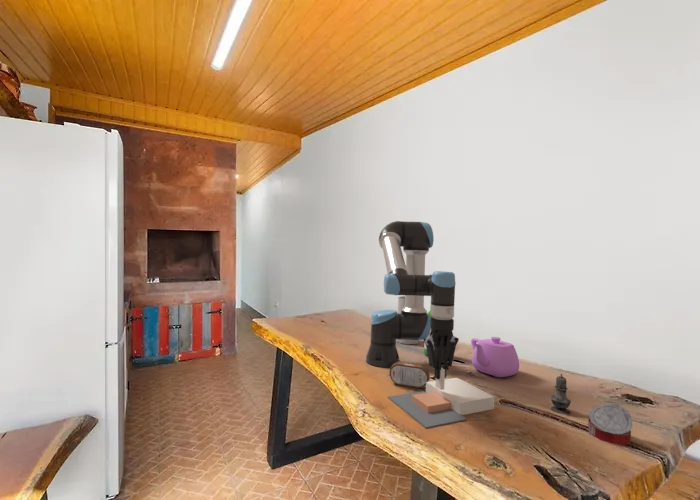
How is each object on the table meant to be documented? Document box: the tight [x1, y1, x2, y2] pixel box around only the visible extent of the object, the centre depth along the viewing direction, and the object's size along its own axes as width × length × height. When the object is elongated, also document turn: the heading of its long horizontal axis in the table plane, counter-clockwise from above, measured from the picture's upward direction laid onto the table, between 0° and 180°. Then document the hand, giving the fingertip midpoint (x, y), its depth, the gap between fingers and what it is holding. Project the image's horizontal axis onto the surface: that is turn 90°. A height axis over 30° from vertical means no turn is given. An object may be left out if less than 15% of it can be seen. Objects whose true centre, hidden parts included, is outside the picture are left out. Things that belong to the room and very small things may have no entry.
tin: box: [389, 361, 431, 389], centre depth 131 cm, size 15×3×8 cm, turn 71°
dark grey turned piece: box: [550, 373, 572, 415], centre depth 115 cm, size 6×6×12 cm
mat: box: [387, 390, 468, 429], centre depth 112 cm, size 22×15×1 cm
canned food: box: [587, 402, 634, 446], centre depth 99 cm, size 11×10×10 cm
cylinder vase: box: [396, 295, 420, 345], centre depth 196 cm, size 12×12×25 cm
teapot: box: [470, 336, 520, 378], centre depth 150 cm, size 23×21×15 cm
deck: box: [425, 377, 495, 416], centre depth 119 cm, size 18×14×4 cm
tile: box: [412, 392, 451, 413], centre depth 114 cm, size 9×9×2 cm
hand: (439, 387), depth 116 cm, fingers closed
